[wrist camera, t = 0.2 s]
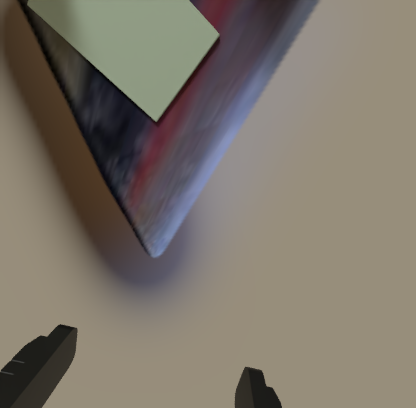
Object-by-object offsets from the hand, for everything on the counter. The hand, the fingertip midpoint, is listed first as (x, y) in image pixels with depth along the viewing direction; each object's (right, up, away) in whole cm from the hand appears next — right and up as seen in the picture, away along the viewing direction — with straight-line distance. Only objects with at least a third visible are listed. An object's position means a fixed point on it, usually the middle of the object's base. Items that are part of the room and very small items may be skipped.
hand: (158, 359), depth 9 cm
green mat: (-7, +28, +13) cm, 32 cm away
